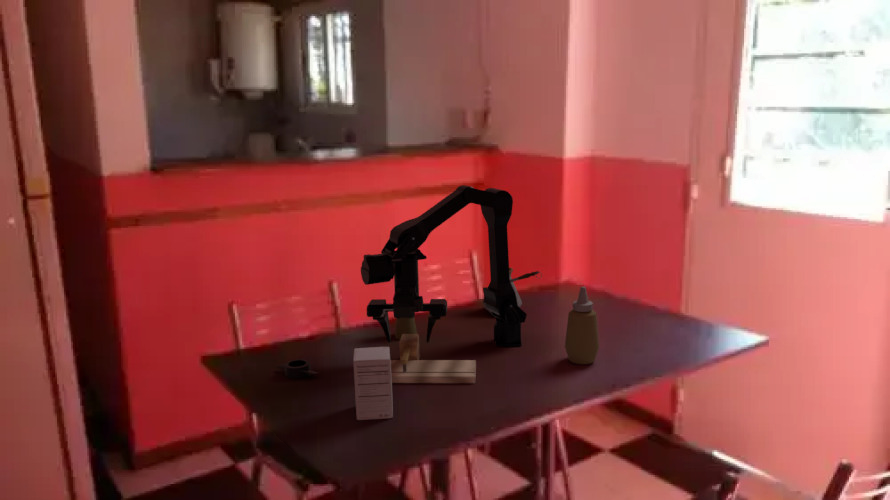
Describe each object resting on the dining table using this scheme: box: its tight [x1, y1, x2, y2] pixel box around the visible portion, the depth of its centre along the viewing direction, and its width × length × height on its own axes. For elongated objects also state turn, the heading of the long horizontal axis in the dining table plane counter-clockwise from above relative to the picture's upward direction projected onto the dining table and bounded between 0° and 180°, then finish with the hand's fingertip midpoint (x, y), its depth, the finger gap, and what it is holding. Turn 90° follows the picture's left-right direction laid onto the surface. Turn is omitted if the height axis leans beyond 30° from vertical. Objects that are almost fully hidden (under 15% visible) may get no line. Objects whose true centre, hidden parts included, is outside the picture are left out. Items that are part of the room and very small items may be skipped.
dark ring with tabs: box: [276, 358, 319, 380], centre depth 167 cm, size 8×10×3 cm
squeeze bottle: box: [564, 286, 600, 365], centre depth 170 cm, size 8×8×18 cm
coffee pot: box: [482, 267, 543, 315], centre depth 206 cm, size 21×12×15 cm, turn 37°
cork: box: [394, 316, 418, 340], centre depth 191 cm, size 6×6×11 cm
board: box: [390, 359, 477, 384], centre depth 165 cm, size 22×10×2 cm, turn 86°
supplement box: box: [352, 346, 394, 421], centre depth 145 cm, size 7×7×13 cm
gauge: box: [399, 333, 420, 372], centre depth 169 cm, size 4×15×6 cm, turn 177°
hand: (408, 342), depth 173 cm, fingers open, 9 cm apart
